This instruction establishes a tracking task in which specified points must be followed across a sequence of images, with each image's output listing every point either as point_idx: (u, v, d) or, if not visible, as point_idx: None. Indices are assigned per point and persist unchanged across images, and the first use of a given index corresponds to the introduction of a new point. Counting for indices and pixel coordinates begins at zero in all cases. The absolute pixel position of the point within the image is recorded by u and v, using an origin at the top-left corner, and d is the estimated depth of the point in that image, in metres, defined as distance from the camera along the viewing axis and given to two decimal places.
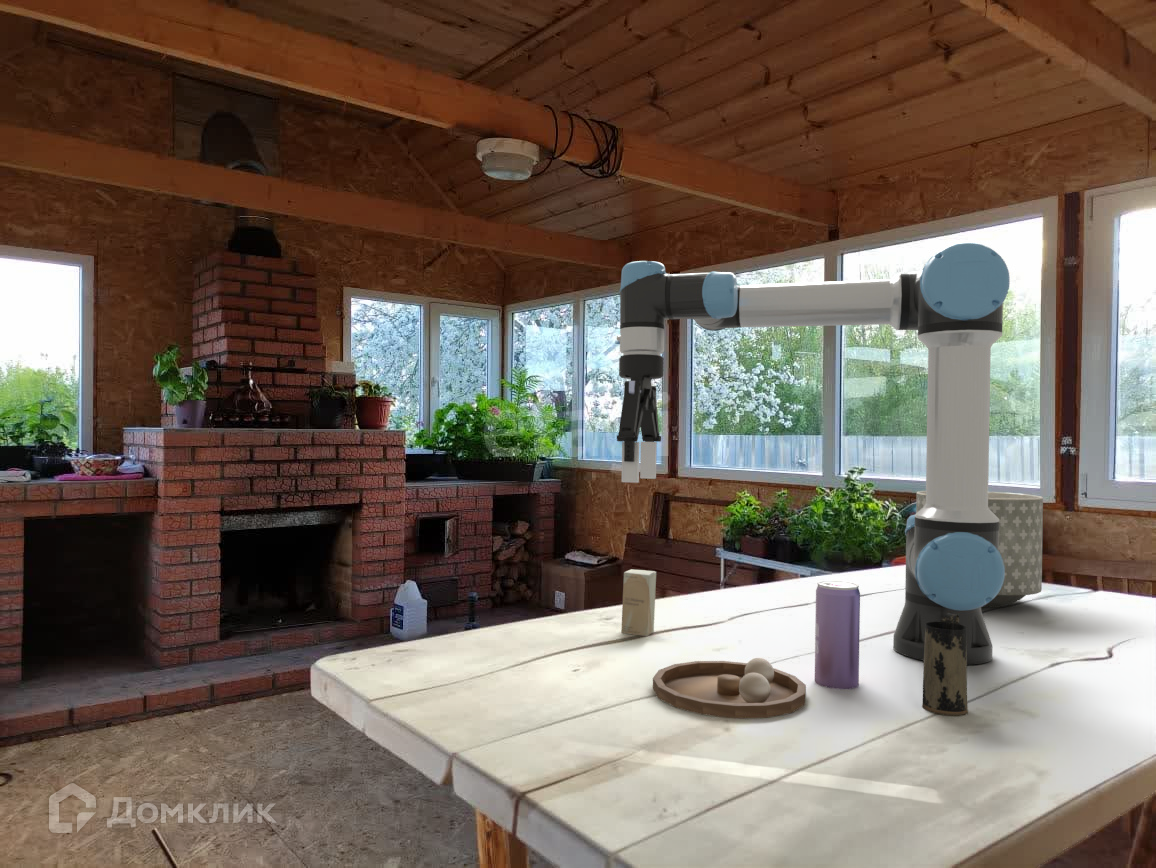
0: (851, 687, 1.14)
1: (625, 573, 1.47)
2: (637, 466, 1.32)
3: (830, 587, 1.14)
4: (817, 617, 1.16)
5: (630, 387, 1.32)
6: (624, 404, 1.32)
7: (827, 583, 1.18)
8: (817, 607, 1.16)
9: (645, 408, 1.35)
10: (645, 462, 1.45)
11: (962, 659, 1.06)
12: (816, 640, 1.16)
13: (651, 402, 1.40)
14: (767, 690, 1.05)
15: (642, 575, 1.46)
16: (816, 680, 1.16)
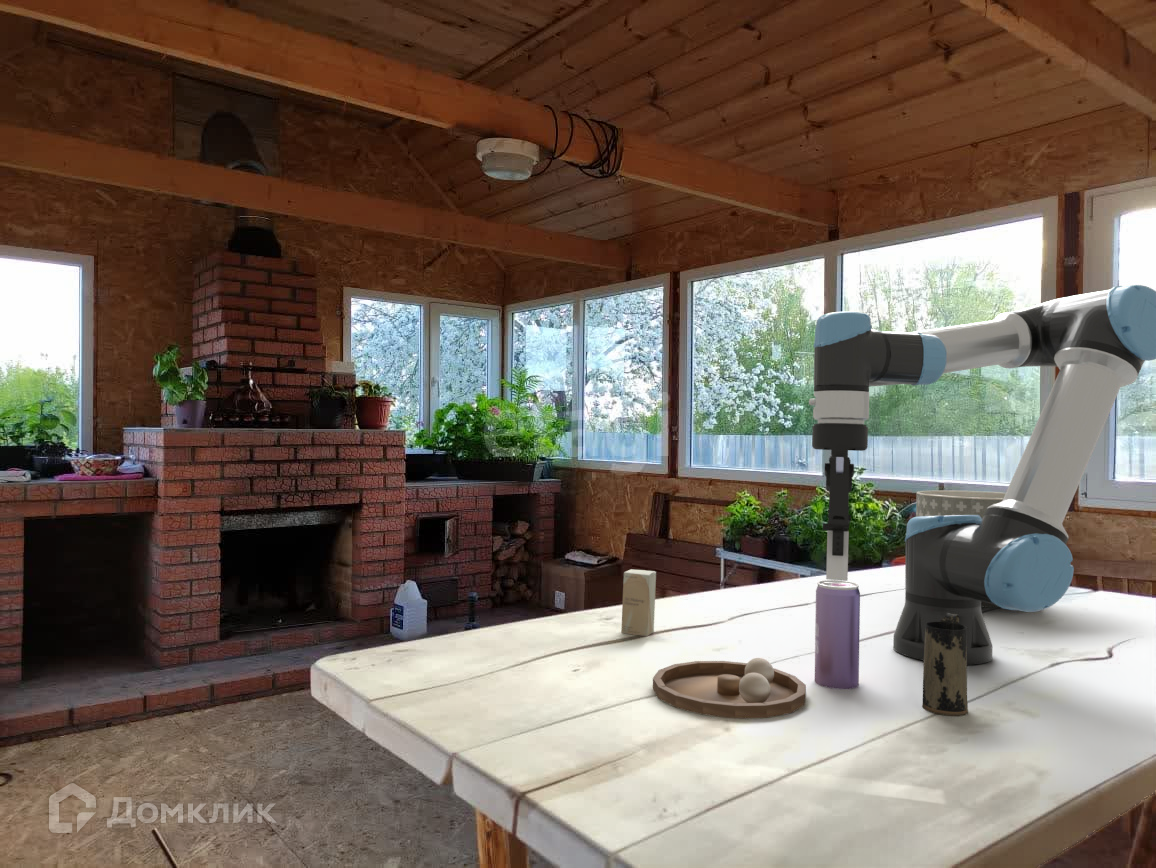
0: (851, 687, 1.14)
1: (625, 573, 1.47)
2: (847, 561, 1.09)
3: (830, 587, 1.14)
4: (817, 617, 1.16)
5: (837, 465, 1.10)
6: (832, 486, 1.09)
7: (827, 583, 1.18)
8: (817, 607, 1.16)
9: (850, 488, 1.13)
10: None
11: (962, 659, 1.06)
12: (816, 640, 1.16)
13: None
14: (767, 690, 1.05)
15: (642, 575, 1.46)
16: (816, 680, 1.16)
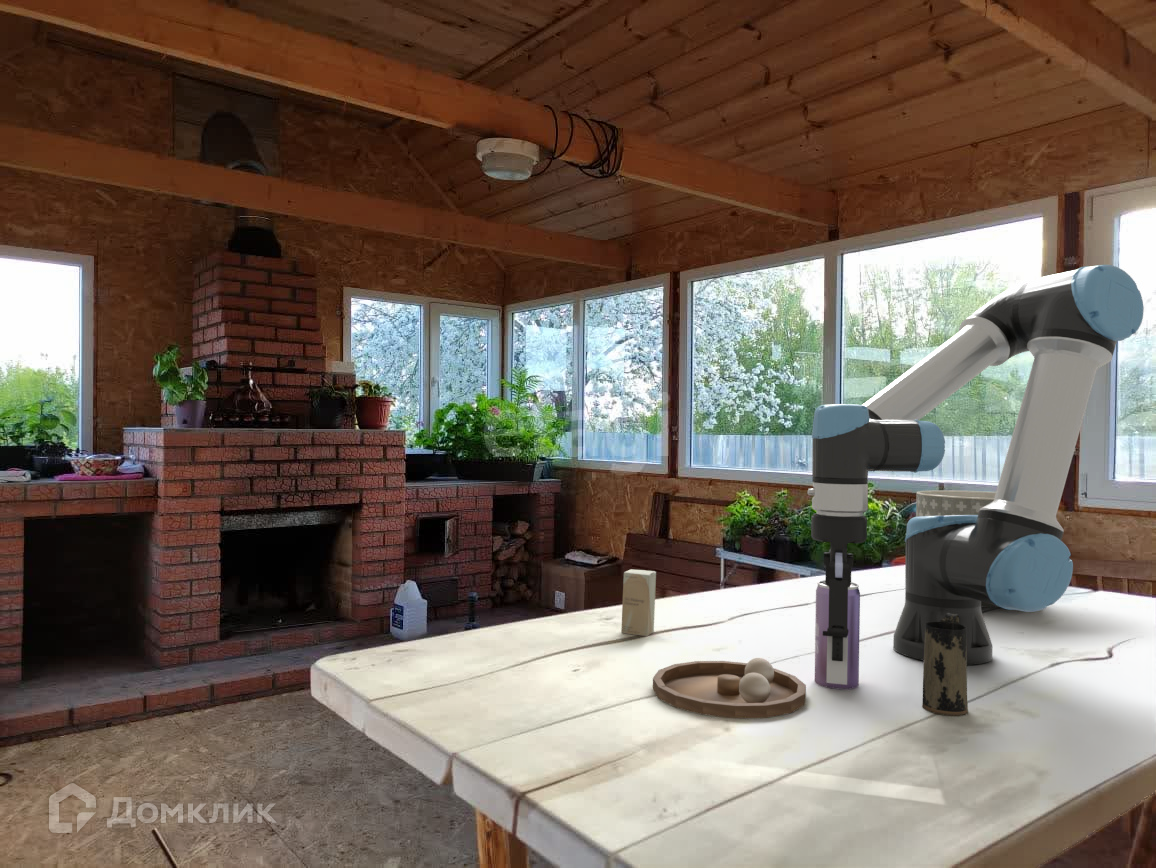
0: (851, 687, 1.14)
1: (625, 573, 1.47)
2: (846, 665, 1.13)
3: None
4: (817, 617, 1.16)
5: (836, 572, 1.10)
6: (831, 593, 1.11)
7: None
8: (817, 607, 1.16)
9: (850, 585, 1.14)
10: None
11: (962, 659, 1.06)
12: (816, 640, 1.16)
13: None
14: (767, 690, 1.05)
15: (642, 575, 1.46)
16: (816, 680, 1.16)
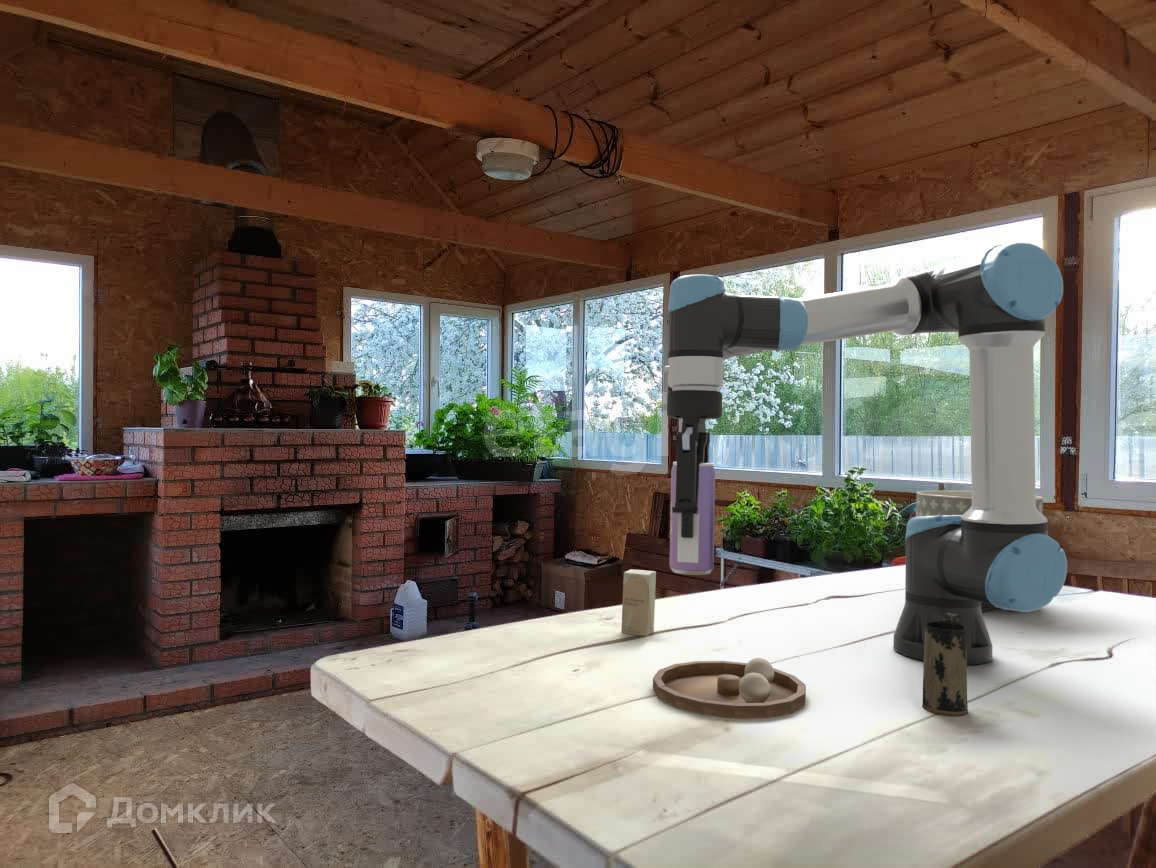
0: (703, 566, 1.10)
1: (625, 573, 1.47)
2: (697, 543, 1.09)
3: None
4: (671, 496, 1.12)
5: (683, 444, 1.06)
6: (678, 466, 1.07)
7: None
8: (671, 486, 1.12)
9: (702, 462, 1.10)
10: None
11: (962, 659, 1.06)
12: (670, 521, 1.12)
13: (705, 448, 1.13)
14: (767, 690, 1.05)
15: (642, 575, 1.46)
16: (670, 562, 1.12)
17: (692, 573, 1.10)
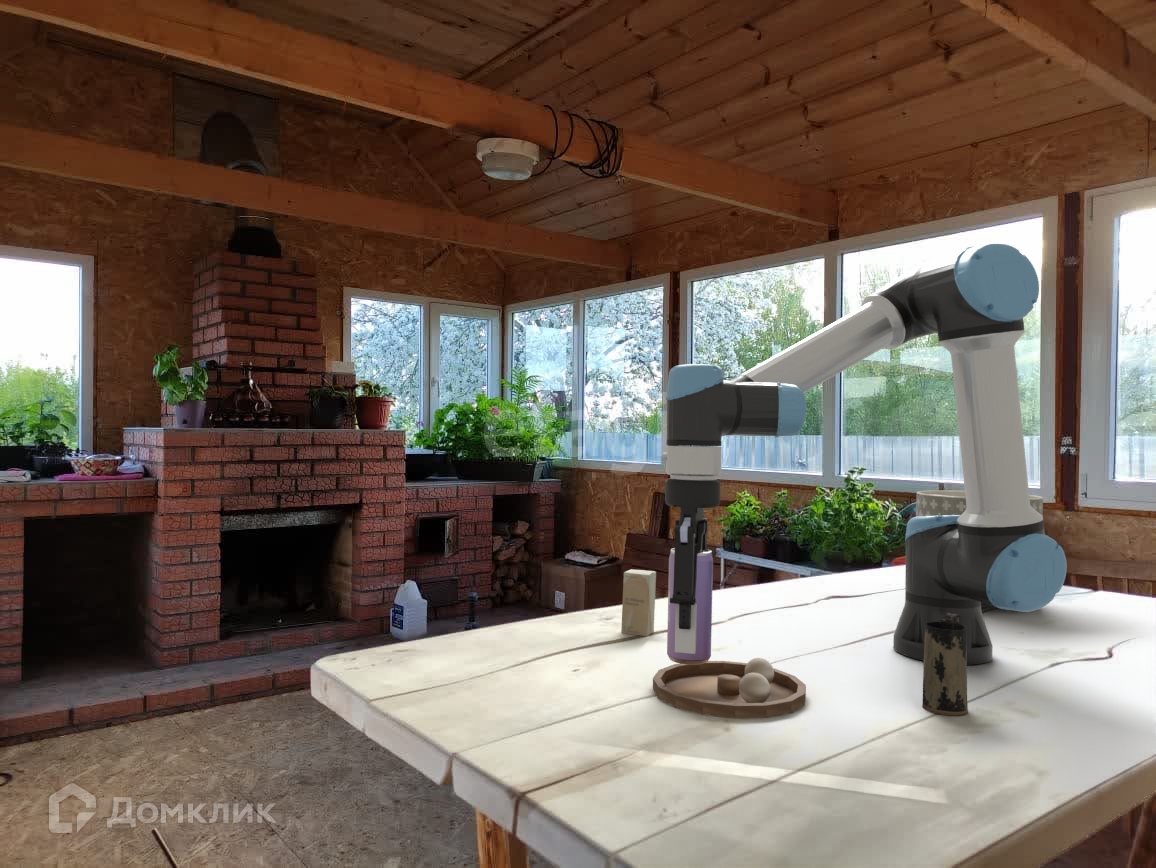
0: (700, 656, 1.10)
1: (625, 573, 1.47)
2: (694, 634, 1.09)
3: None
4: (669, 584, 1.12)
5: (681, 536, 1.06)
6: (676, 558, 1.07)
7: None
8: (669, 574, 1.12)
9: (700, 551, 1.10)
10: None
11: (962, 659, 1.06)
12: (668, 608, 1.12)
13: (703, 535, 1.13)
14: (767, 690, 1.05)
15: (642, 575, 1.46)
16: (667, 650, 1.12)
17: (690, 663, 1.10)
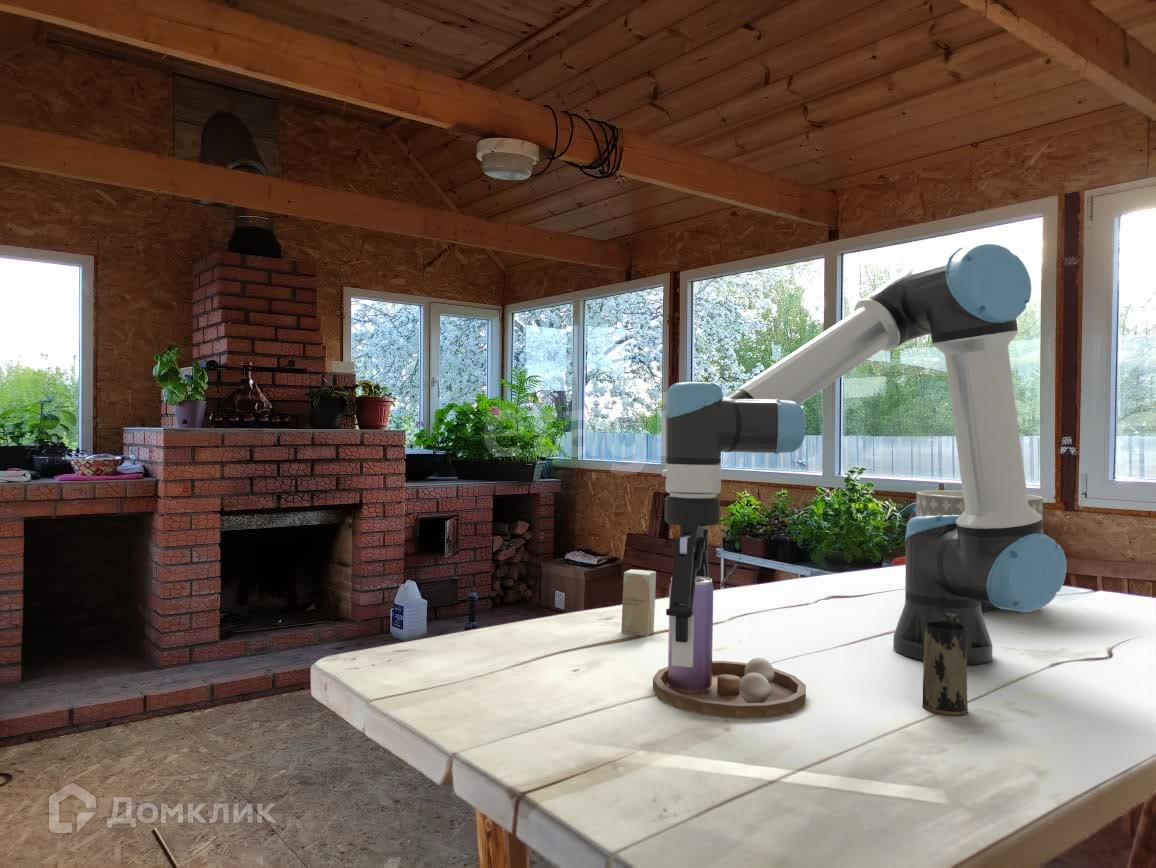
0: (701, 686, 1.10)
1: (625, 573, 1.47)
2: (691, 647, 1.06)
3: None
4: None
5: (681, 547, 1.06)
6: (675, 569, 1.06)
7: None
8: (669, 603, 1.12)
9: (699, 567, 1.09)
10: None
11: (962, 659, 1.06)
12: (669, 637, 1.12)
13: (704, 552, 1.14)
14: (767, 690, 1.05)
15: (642, 575, 1.46)
16: (668, 678, 1.12)
17: (691, 692, 1.10)
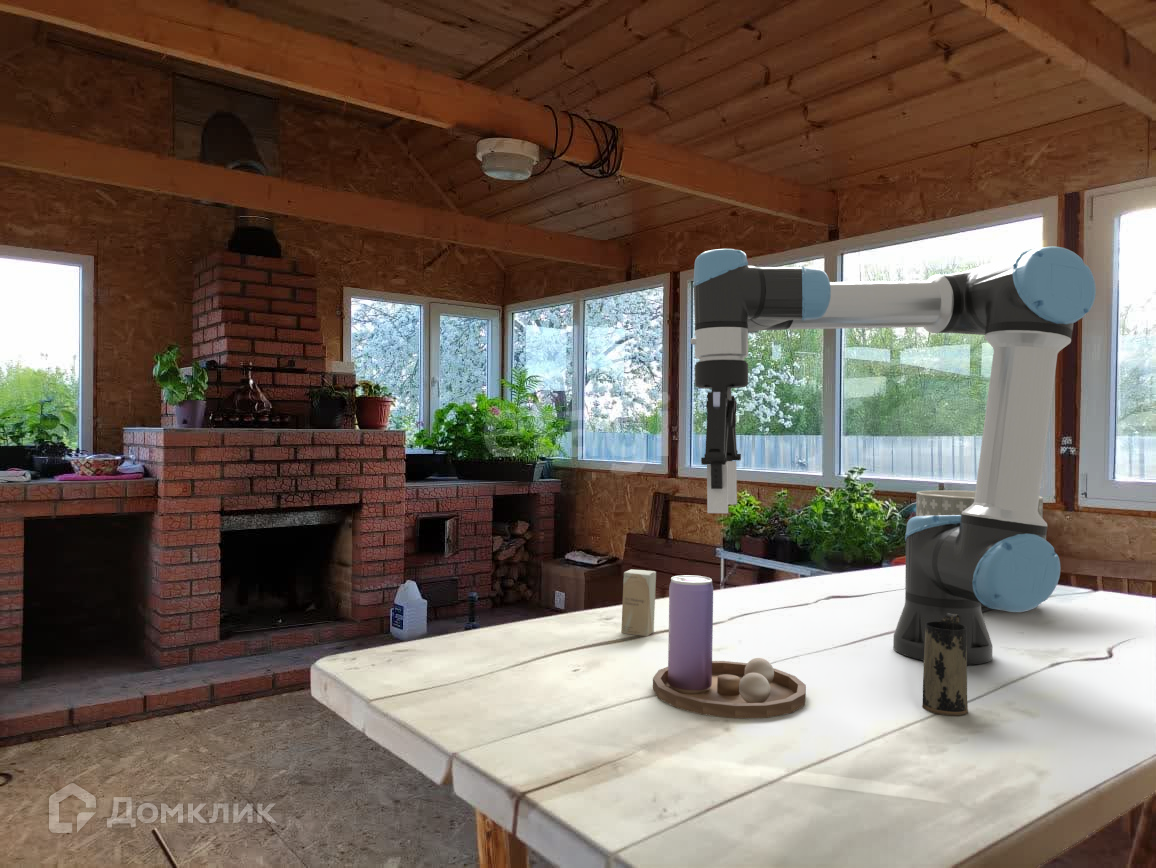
0: (701, 686, 1.10)
1: (625, 573, 1.47)
2: (726, 494, 1.10)
3: (680, 582, 1.10)
4: (669, 613, 1.12)
5: (714, 400, 1.11)
6: (709, 420, 1.10)
7: (682, 578, 1.14)
8: (669, 603, 1.12)
9: (730, 424, 1.14)
10: None
11: (962, 659, 1.06)
12: (669, 637, 1.12)
13: (733, 415, 1.19)
14: (767, 690, 1.05)
15: (642, 575, 1.46)
16: (668, 678, 1.12)
17: (691, 692, 1.10)
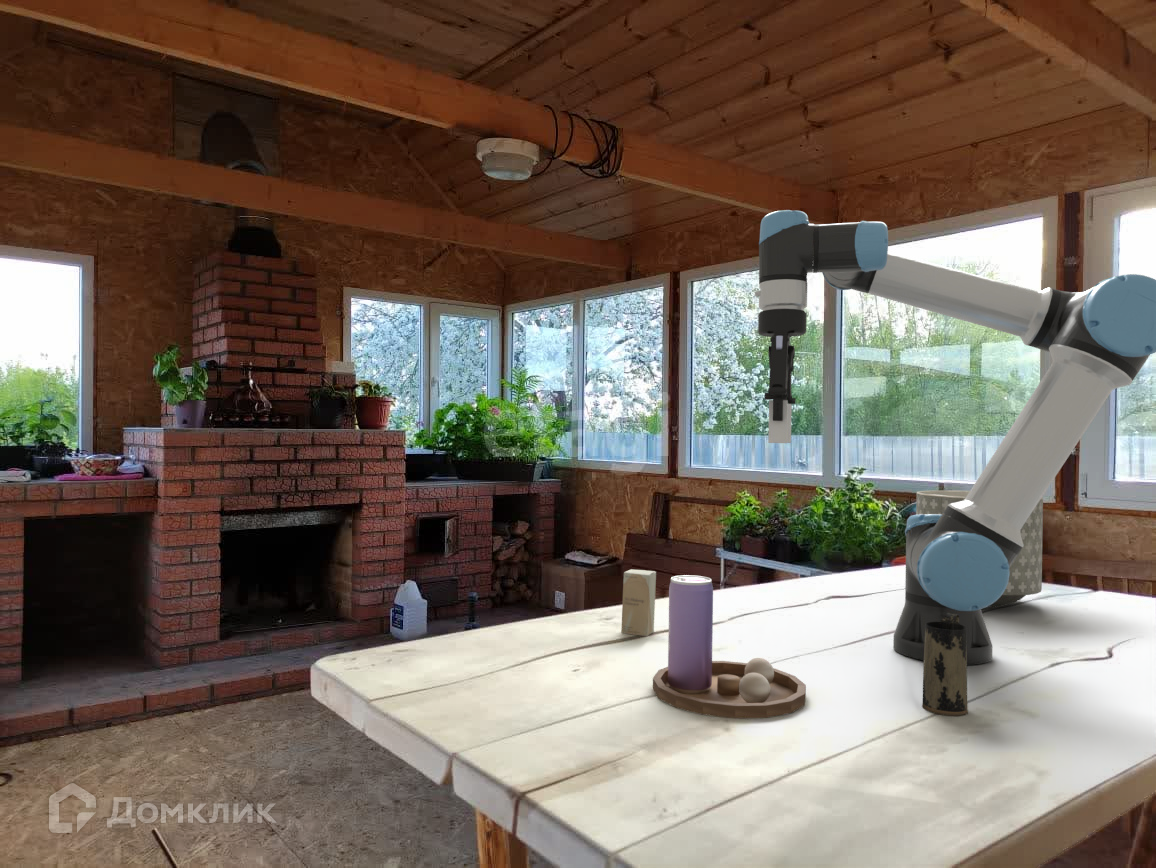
0: (701, 686, 1.10)
1: (625, 573, 1.47)
2: (786, 426, 1.24)
3: (680, 582, 1.10)
4: (669, 613, 1.12)
5: (777, 342, 1.25)
6: (772, 360, 1.24)
7: (682, 578, 1.14)
8: (669, 603, 1.12)
9: (790, 365, 1.28)
10: None
11: (962, 659, 1.06)
12: None
13: (791, 361, 1.33)
14: (767, 690, 1.05)
15: (642, 575, 1.46)
16: (668, 679, 1.12)
17: (691, 692, 1.10)
